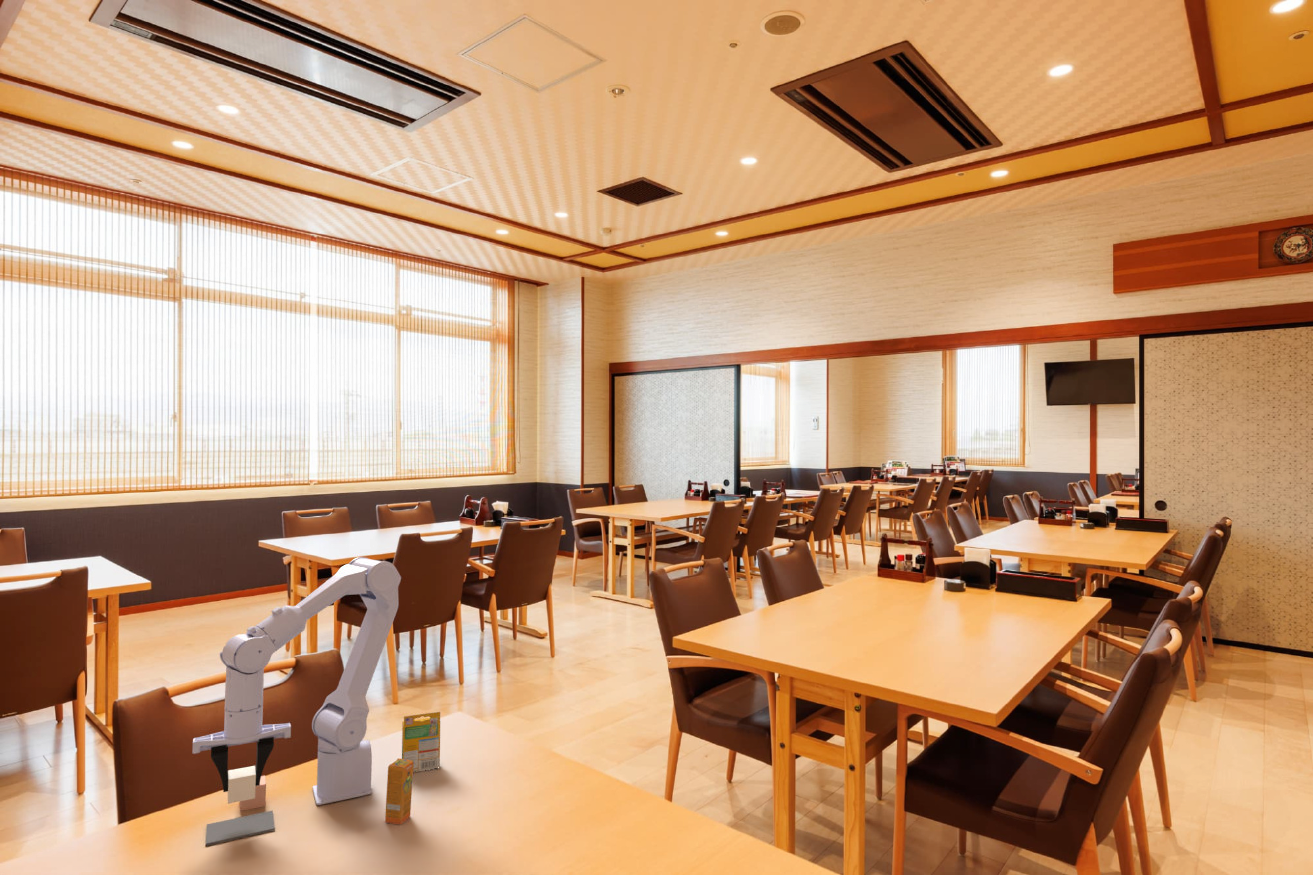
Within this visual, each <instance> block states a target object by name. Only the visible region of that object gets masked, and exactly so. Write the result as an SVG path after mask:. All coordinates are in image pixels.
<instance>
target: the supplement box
mask: <svg viewBox="0 0 1313 875" xmlns="http://www.w3.org/2000/svg"><path fill="white" fill-rule="evenodd" d="M413 763H414V762H413V761H411V760H406V759H402V758H397V759H396V760H395V761H394V762H392V763H390V764H389V765H388V766H387V782H386V795H385V796H386V798H385V799H386V800H385V814H384V815H385V816H384V817H385V820H384V822H385V823H386V824H391V825H399V826H400V825H402V824H404V823H405V822H406V821H407V820H408V819H409V818H410V817H411V809H412V793H413V792H412V791H413V777H414V773H413Z"/></svg>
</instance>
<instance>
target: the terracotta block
mask: <svg viewBox="0 0 1313 875" xmlns="http://www.w3.org/2000/svg"><path fill="white" fill-rule="evenodd" d="M266 781H267V780H266V775H261V779H260V785H258V786H255V798H254V799H249V800H244V801H239V811H240V812H242V811H248V810H252V809H257V808H262V807H265V806H266V797H267V794H266V793H267V782H266Z"/></svg>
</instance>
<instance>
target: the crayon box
mask: <svg viewBox="0 0 1313 875" xmlns="http://www.w3.org/2000/svg"><path fill="white" fill-rule="evenodd" d="M421 717H424V718H421ZM420 718H421V719H420ZM401 726H402V728H401V732H402V733H401V734H402V735H401V759H406V760H411V761H413V762H414V763H413V772H414V773H418V772H417V771H420V772H425V770H426V771H430V770H429V769H433V770H435V769H434V768H438V767H440V768H441V711H436V712H429V713H428V712H427V713H422V714H421V713H420V714H413V715H407V716H403V721H402V725H401Z"/></svg>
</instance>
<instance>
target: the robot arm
mask: <svg viewBox="0 0 1313 875" xmlns="http://www.w3.org/2000/svg"><path fill="white" fill-rule="evenodd" d="M401 579H402V576H401V575H400V572H399V571H398V570H397V567H396V566H395V565H394V564H393V563H392V562H390V561H385V560H384V561H383V560H382V561H381V560H376V559H370V558H368V557H365V556H359V557H356V558H353V559H352V560H351V561H349V563H348V564H345V565H343V566H341V567H340V568H339V569H338V571H336V573H335V574H334V575H333V576H331V577H330V578H328V579H327V580H326V581H325V582H324V583H322V584H321V585H319V586H318V588H316V589H315V590H313V591H312V592H311V593H310V594H308V595H307V596H306V597H305V598H303V599H302V600H300V601H299V603H297V604H296V605H283V606H281V607H279V606H276V607H274V609H272V610H271V614H270V615H269V616H267V617H266V618H265V619H264V620H262V621H260V622H258V624H256V625H255V626H252V625H251V626H249V627H248V628H246V633H241V634H236V635H234V636H232V637H231V638H229V639H228V640H227V641H226V643H225V646H223V648H222V650H221V651H220V652H219V659H220V661H221V663H222V664H224V666H225V684H224V686H225V688H224V689H225V691H224V725H223V727H224V728H223V729H224V730H222V731H219V732H215V733H210V734H207V735H203V736H199V737H194V738H193V739H192V755H194V754H199V753H201V752H203V751H208V750H209V751H210V758H211V759H212V760H211V761H212V762H213V763H214V766H215V767H216V769H217V771H218V773H219V776H220V780H221V783H222V788H223V789H222V792H223V793H228V771H229V770H228V769H229V768H228V766H229V747H233V746H239V745H244V744H251V743H256V758H255V759H256V760H255V761H256V762H255V771H256V785H255V786H258V785H260V779H261V776H263V775H262V774H263V772H264V769H265V765H266V763H267V761H268V759H269V758H270V755H271V754H272V752H273V749H274V746H275V742H274V741H275V739H281V738H283V739H288V738H289V739H290V738H291V735H292V734H291V733H292V725H291V723H290V722H288V723H277V724H276V723H274V724H263V717H264V712H263V711H264V710H263V709H264V681H265V679H264V676H265V674H264V671H265V668H266V667H267V666H268V664H269V662H270V660H271V657H272V656H273V655H274V653H276V652H277V651H278V650H279V649H281V648H283V647H284V646H285V645H286V644H288V643H289V642H291V641H292V640H293V639H294V638H296V637H297V636H298V635H300V634H301V633H303V632H304V631H305V629H306V625H307V621H308V620H310V619H311V618H313V617H314V616H315V615H317V614H319V613H320V612H322V611H324V609H326V608H327V607H329V606H331V605H333V604H334V603H336V602H337V601H338V600H340V599H342V598H343V597H345V596H349V595H350V596H351V595H359V596H360V598H361V600H362V601H363V603H364V605H365V607H366V609H367V610H366V612H365V615H364V617H363V620H362V623H361V625H360V628H359V631H358V633H357V635H356V639H355V640H354V642H353V646H352V648H351V652H350V655H349V657H348V659H347V661H346V664H345V667H344V670H343V672H342V674H341V677H340V679H339V682H338V685H337V687H336V689H335V690H334V691H332V692H331V693H330V694H328V695H327V696H326V698H325V699H324V702H323V704H322V706H321V707H320V708H319V709H318V710H317V711H316V713H315V714H314V716H313V718H312V722H311V729H312V732H313V734H314V735H315V736H316V737H317V767H316V768H317V769H316V772H317V773H316V774H317V775H316V777H317V778H316V785H313V786H312V791H313V792H312V793H313V797H314V800H315V804H316V805H317V806H322V805H326V804H330V803H334V802H336V803H337V802H340V801H344V800H348V799H353V798H357V797H363V796H367V795H371V794H372V765H373V764H372V763H373V762H372V760H373V759H372V758H373V756H372V754H373V753H372V752H373V751H372V744H371V740H370V739H364V738H365V736H366V733H367V730H368V729H367V728H368V726H367V721H368V720H367V719H368V717H369V716H368V715H369V713H370V708H369V705H368V701H367V699H366V696H367V693H368V690H369V688H370V685H371V682H372V680H373V677H374V674H375V671H376V669H377V666H378V663H379V660H380V657H381V655H382V653H383V650H384V647H385V644H386V643H387V639H388V636H389V634H390V631H391V628H392V625H393V623H394V620H395V617H396V615H397V612H398V609H399V586H400V583H401V581H402V580H401Z"/></svg>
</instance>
